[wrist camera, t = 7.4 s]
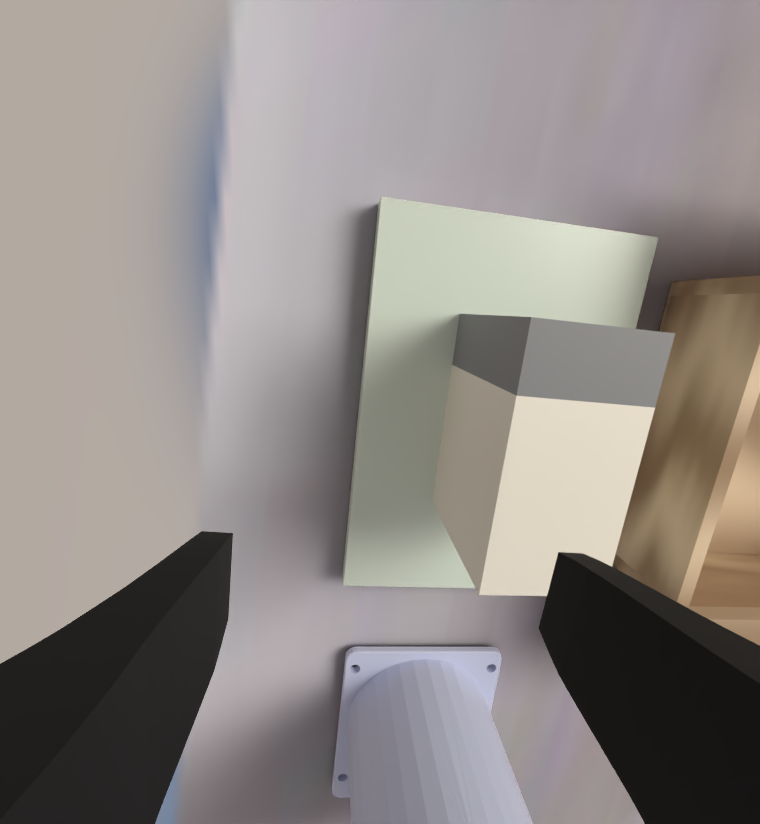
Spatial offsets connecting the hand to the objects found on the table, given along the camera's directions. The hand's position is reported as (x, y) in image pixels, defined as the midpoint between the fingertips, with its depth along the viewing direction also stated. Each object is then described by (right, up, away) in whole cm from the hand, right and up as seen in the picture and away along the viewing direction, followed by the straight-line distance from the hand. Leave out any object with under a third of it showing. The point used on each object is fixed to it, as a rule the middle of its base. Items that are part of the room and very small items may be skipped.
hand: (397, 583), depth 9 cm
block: (+4, +4, +8) cm, 10 cm away
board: (+4, +4, +9) cm, 11 cm away
